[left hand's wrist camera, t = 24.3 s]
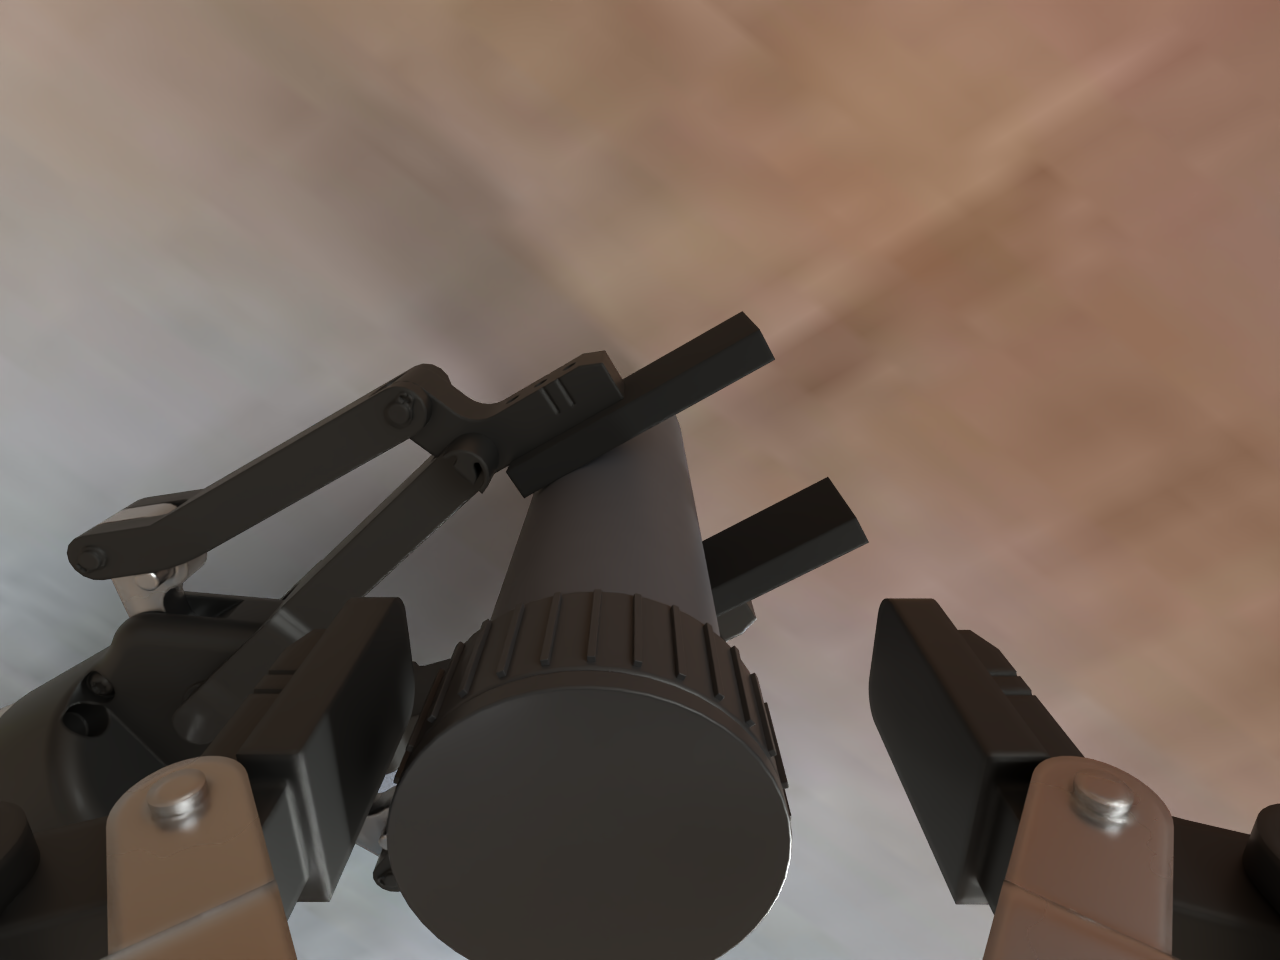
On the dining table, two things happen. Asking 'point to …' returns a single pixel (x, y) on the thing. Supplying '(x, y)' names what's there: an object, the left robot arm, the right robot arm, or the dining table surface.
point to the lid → (592, 789)
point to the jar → (617, 531)
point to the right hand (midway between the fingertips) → (802, 425)
